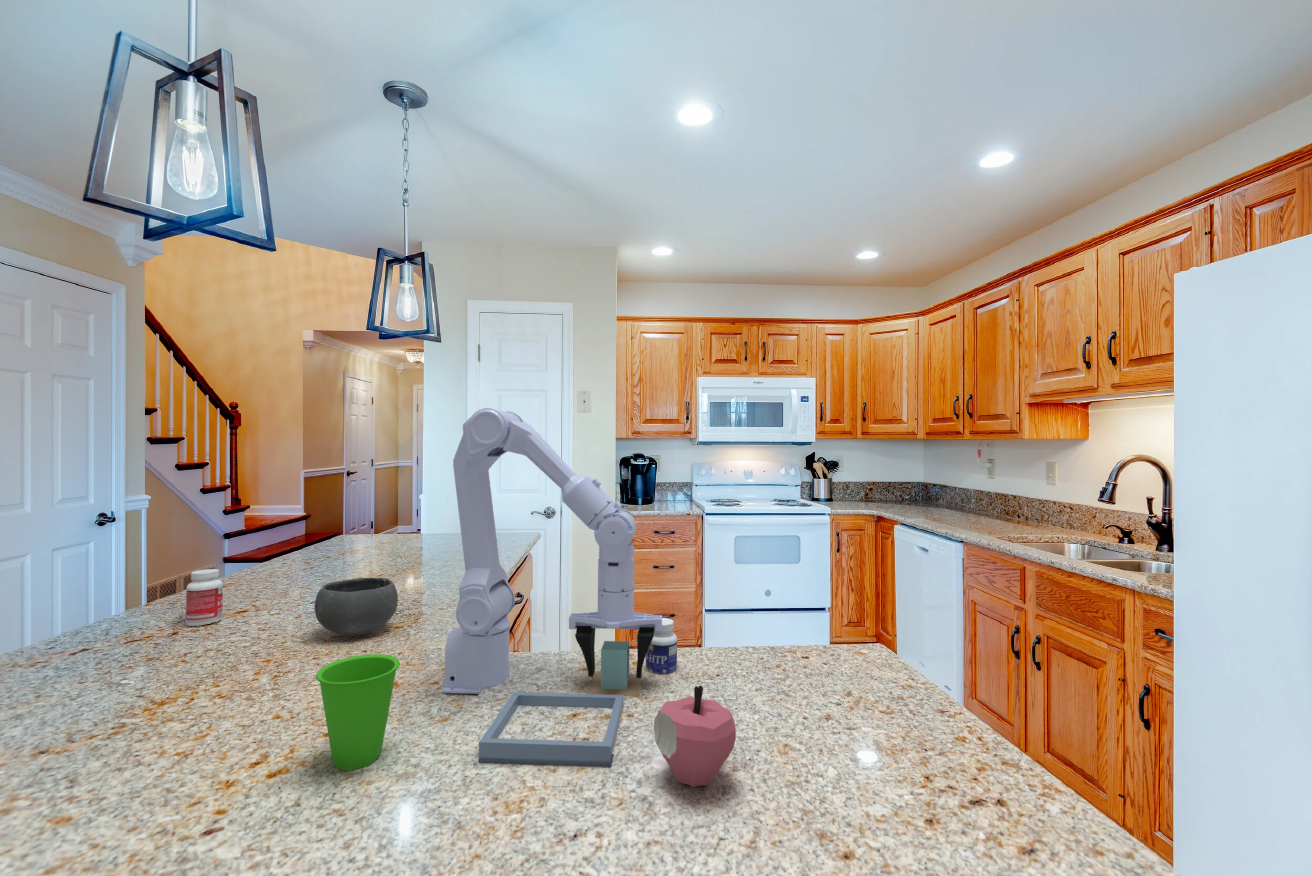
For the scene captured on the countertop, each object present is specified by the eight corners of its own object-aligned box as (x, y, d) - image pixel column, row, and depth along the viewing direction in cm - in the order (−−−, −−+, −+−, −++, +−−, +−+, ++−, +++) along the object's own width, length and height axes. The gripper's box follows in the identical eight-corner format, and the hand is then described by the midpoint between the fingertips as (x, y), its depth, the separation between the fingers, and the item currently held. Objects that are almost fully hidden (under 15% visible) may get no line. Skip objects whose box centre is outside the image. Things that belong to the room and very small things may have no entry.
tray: (478, 762, 67) (479, 742, 67) (513, 708, 81) (513, 691, 81) (610, 766, 67) (610, 746, 67) (623, 711, 81) (623, 695, 81)
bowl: (373, 617, 125) (374, 572, 125) (410, 630, 116) (411, 582, 116) (300, 635, 113) (301, 585, 113) (335, 651, 104) (336, 597, 104)
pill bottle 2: (640, 676, 93) (640, 622, 93) (654, 665, 98) (655, 614, 98) (668, 682, 91) (668, 627, 91) (682, 671, 95) (682, 619, 96)
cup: (340, 789, 62) (342, 689, 62) (298, 764, 67) (300, 671, 67) (413, 752, 69) (415, 663, 70) (371, 732, 74) (373, 649, 74)
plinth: (585, 701, 84) (585, 694, 84) (593, 679, 92) (593, 673, 92) (638, 702, 83) (638, 696, 84) (642, 680, 91) (642, 674, 91)
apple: (644, 766, 67) (645, 681, 67) (708, 751, 70) (708, 671, 70) (679, 814, 58) (679, 717, 58) (750, 794, 61) (750, 702, 62)
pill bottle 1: (224, 623, 120) (225, 571, 120) (186, 629, 116) (188, 575, 116) (220, 616, 124) (221, 566, 125) (184, 622, 120) (185, 570, 120)
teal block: (600, 689, 86) (601, 649, 86) (605, 676, 91) (605, 638, 91) (626, 689, 86) (626, 650, 86) (629, 676, 91) (630, 639, 91)
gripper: (565, 593, 84) (564, 684, 84) (661, 595, 84) (660, 686, 83) (574, 582, 91) (573, 666, 91) (662, 584, 91) (662, 668, 90)
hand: (615, 675), depth 88 cm, fingers open, 7 cm apart
